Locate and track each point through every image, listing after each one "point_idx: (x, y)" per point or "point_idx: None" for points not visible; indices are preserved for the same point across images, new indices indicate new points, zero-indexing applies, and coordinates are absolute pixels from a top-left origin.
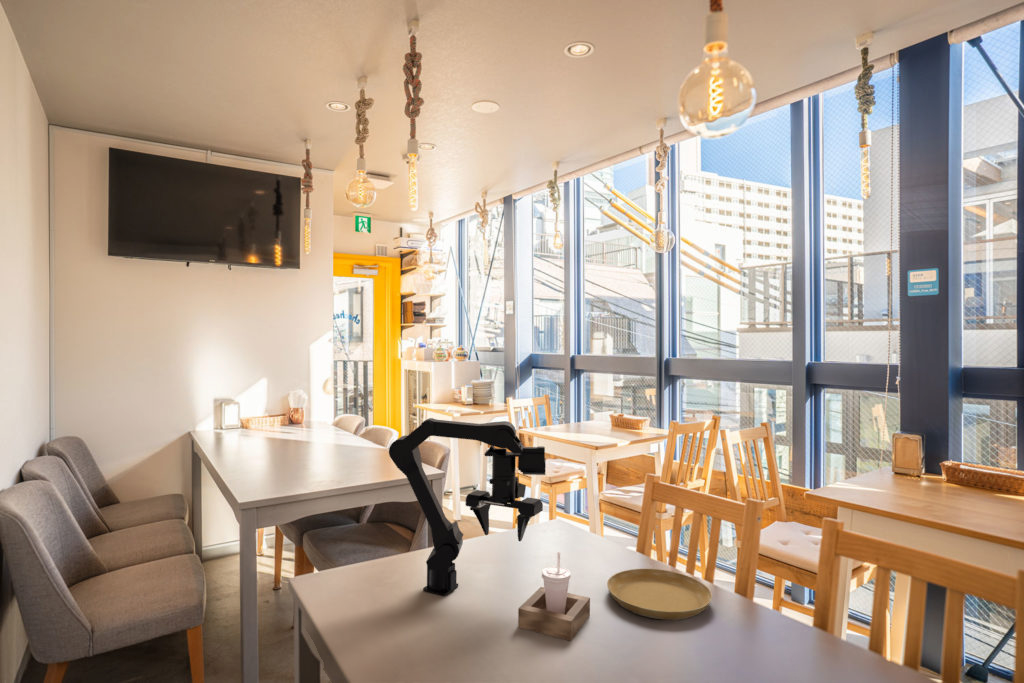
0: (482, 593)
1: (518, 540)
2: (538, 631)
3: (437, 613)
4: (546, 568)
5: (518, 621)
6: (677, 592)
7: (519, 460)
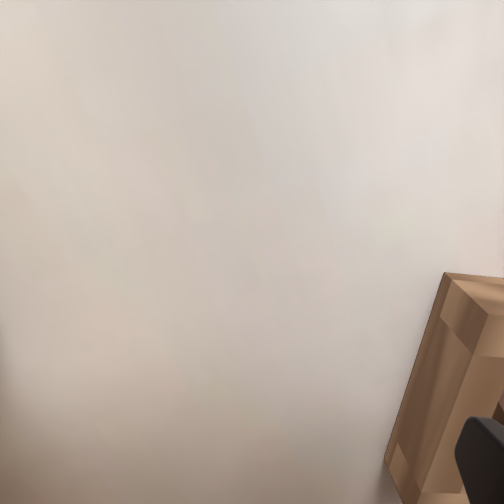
0: (135, 269)
1: (458, 467)
2: None
3: (51, 480)
4: None
5: (392, 475)
6: None
7: None
